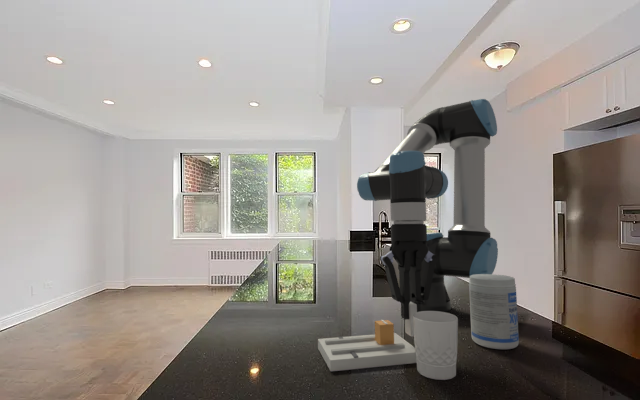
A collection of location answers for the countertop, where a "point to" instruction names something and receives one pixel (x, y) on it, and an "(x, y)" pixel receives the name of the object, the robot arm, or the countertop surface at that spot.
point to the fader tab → (384, 332)
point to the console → (364, 352)
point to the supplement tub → (493, 311)
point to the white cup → (436, 344)
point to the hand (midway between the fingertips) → (411, 334)
